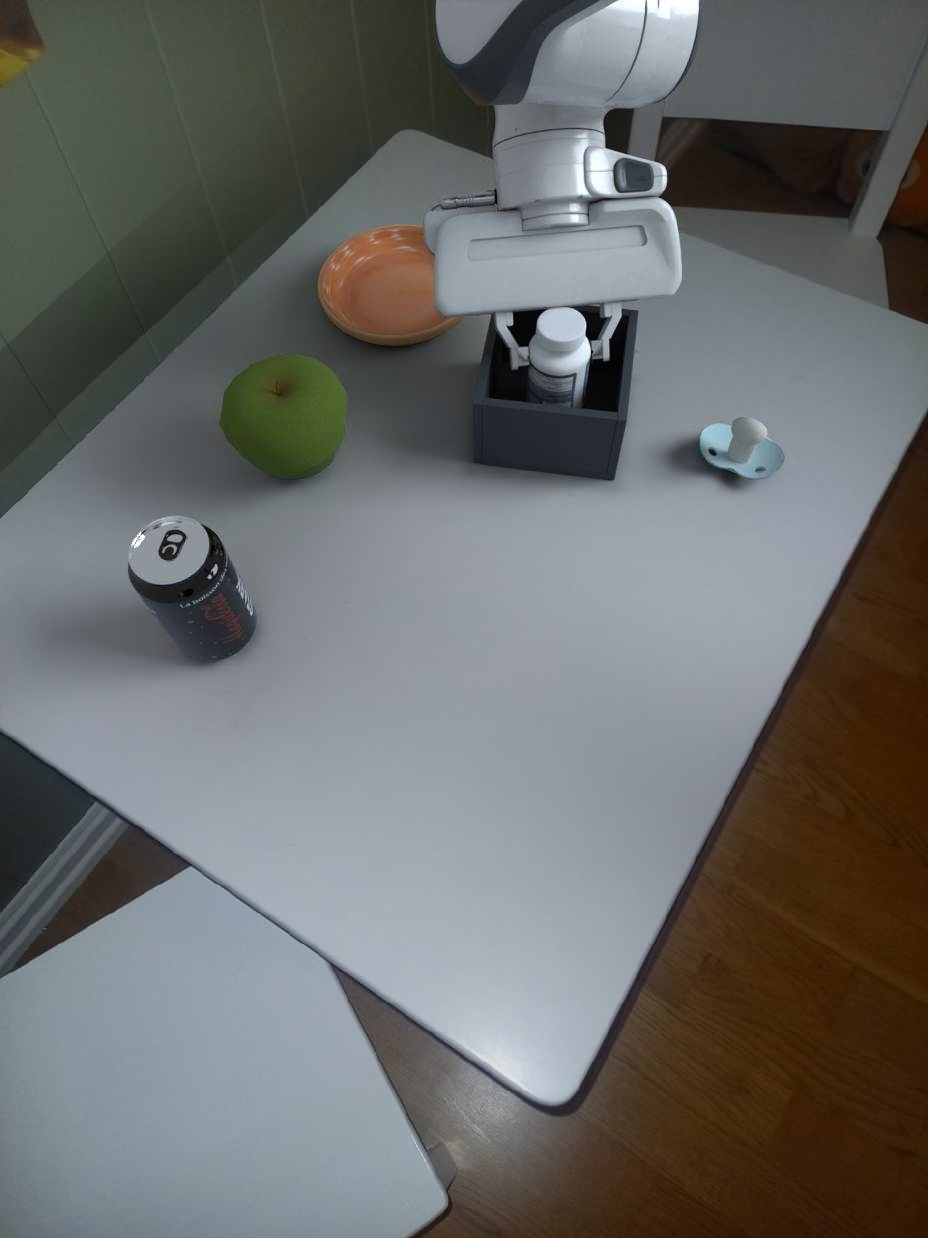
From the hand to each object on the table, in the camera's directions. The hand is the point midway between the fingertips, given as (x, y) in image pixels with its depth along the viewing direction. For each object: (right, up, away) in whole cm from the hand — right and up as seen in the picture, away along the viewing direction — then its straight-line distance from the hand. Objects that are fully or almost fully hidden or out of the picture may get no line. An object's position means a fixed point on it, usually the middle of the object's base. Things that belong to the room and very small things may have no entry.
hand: (559, 365), depth 71 cm
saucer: (-14, +11, +15) cm, 23 cm away
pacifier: (+16, -7, +4) cm, 18 cm away
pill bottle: (0, -2, +5) cm, 5 cm away
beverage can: (-28, -22, -3) cm, 36 cm away
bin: (0, -3, +7) cm, 7 cm away
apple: (-23, -7, +6) cm, 25 cm away
